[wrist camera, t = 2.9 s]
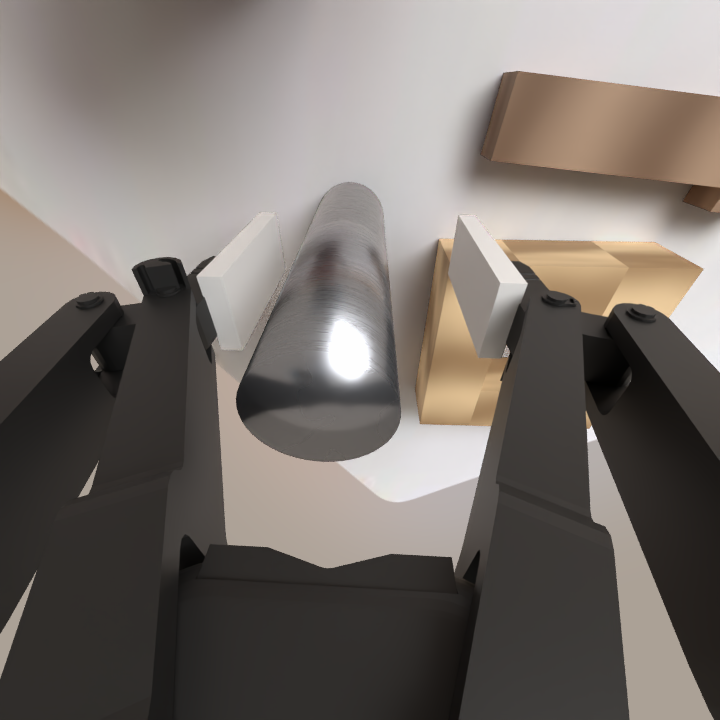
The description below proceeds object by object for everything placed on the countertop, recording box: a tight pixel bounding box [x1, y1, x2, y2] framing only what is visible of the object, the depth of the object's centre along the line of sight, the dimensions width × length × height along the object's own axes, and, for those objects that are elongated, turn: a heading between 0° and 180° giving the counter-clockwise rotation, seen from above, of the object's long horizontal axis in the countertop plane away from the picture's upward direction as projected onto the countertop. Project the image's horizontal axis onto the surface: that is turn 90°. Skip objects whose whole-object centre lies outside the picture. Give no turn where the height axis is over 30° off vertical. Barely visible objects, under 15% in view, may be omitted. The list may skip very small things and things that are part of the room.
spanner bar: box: [481, 71, 720, 213], centre depth 15 cm, size 14×5×2 cm, turn 85°
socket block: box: [415, 239, 703, 429], centre depth 21 cm, size 12×12×4 cm
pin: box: [236, 182, 401, 462], centre depth 13 cm, size 4×4×14 cm
